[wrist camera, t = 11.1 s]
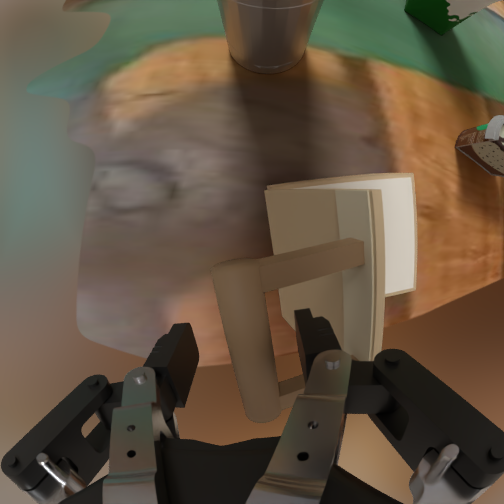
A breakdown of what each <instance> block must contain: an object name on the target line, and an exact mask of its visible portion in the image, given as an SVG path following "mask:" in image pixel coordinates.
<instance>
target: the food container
mask: <svg viewBox="0 0 504 504" xmlns="http://www.w3.org/2000/svg"><path fill="white" fill-rule="evenodd" d="M455 148H457V149H458V150H460V151H461V152H462V153H464V154H465V155H466V156H468V157H469V158H470V159H472V160H473V161H474V162H476V163H477V164H478V165H479V166H481V167H482V168H483V169H484V170H485V171H487V172H488V173H489V174H490V175H493V176H500V177H504V116H503V115H498V116H495V117H494V118H492V120H491V121H490V122H489V123H488V124H485V125H481V126H478V127H474V128H471V129H467V130H465V131H463V132H462V133H461V134H460V135H459V136H458V138H457V141H456V144H455Z"/></svg>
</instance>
